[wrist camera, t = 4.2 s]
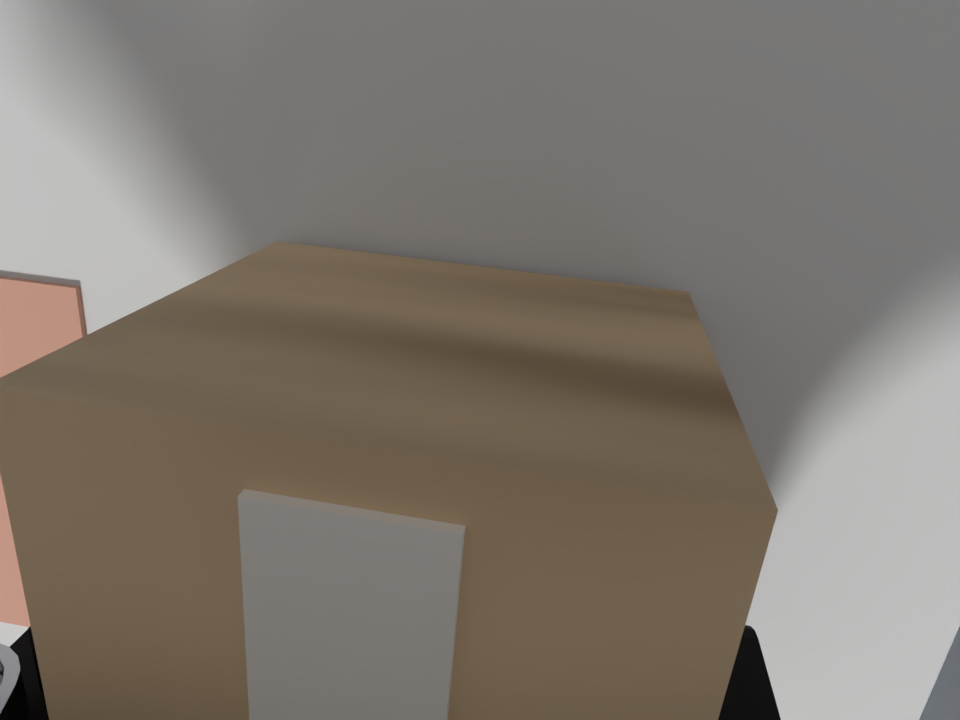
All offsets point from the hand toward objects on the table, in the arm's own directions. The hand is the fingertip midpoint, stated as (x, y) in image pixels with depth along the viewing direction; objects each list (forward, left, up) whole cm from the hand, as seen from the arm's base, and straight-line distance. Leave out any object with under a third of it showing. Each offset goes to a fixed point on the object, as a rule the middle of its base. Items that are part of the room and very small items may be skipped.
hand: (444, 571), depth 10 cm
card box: (0, 0, -1) cm, 1 cm away
